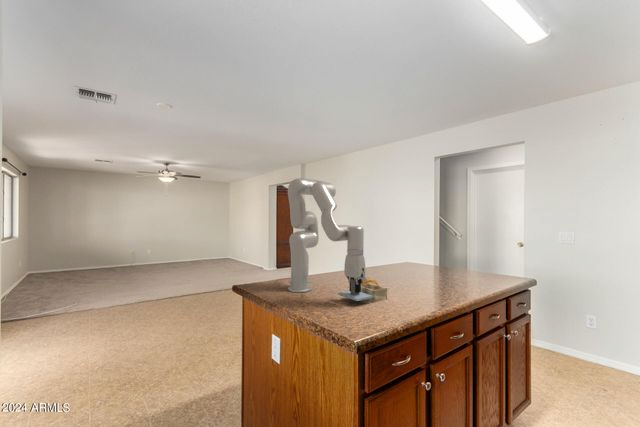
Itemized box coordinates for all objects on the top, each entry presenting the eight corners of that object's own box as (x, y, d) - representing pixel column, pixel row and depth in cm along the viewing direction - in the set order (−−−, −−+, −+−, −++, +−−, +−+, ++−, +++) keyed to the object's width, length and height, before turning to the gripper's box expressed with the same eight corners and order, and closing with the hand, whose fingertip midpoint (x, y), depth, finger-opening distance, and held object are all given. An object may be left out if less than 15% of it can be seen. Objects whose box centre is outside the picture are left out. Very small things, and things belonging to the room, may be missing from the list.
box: (356, 297, 159) (356, 285, 159) (368, 294, 164) (369, 283, 164) (374, 303, 149) (374, 290, 149) (387, 300, 155) (387, 288, 155)
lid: (337, 294, 152) (338, 278, 152) (353, 291, 158) (353, 275, 158) (357, 301, 142) (357, 283, 141) (372, 297, 148) (372, 280, 148)
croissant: (382, 301, 166) (389, 287, 167) (367, 293, 163) (374, 279, 164) (364, 290, 186) (370, 277, 187) (350, 283, 183) (357, 270, 184)
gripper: (337, 251, 154) (337, 289, 154) (362, 255, 141) (361, 296, 141) (349, 250, 158) (349, 287, 158) (373, 253, 145) (373, 294, 146)
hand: (355, 291), depth 150 cm, fingers closed on lid, 3 cm apart
